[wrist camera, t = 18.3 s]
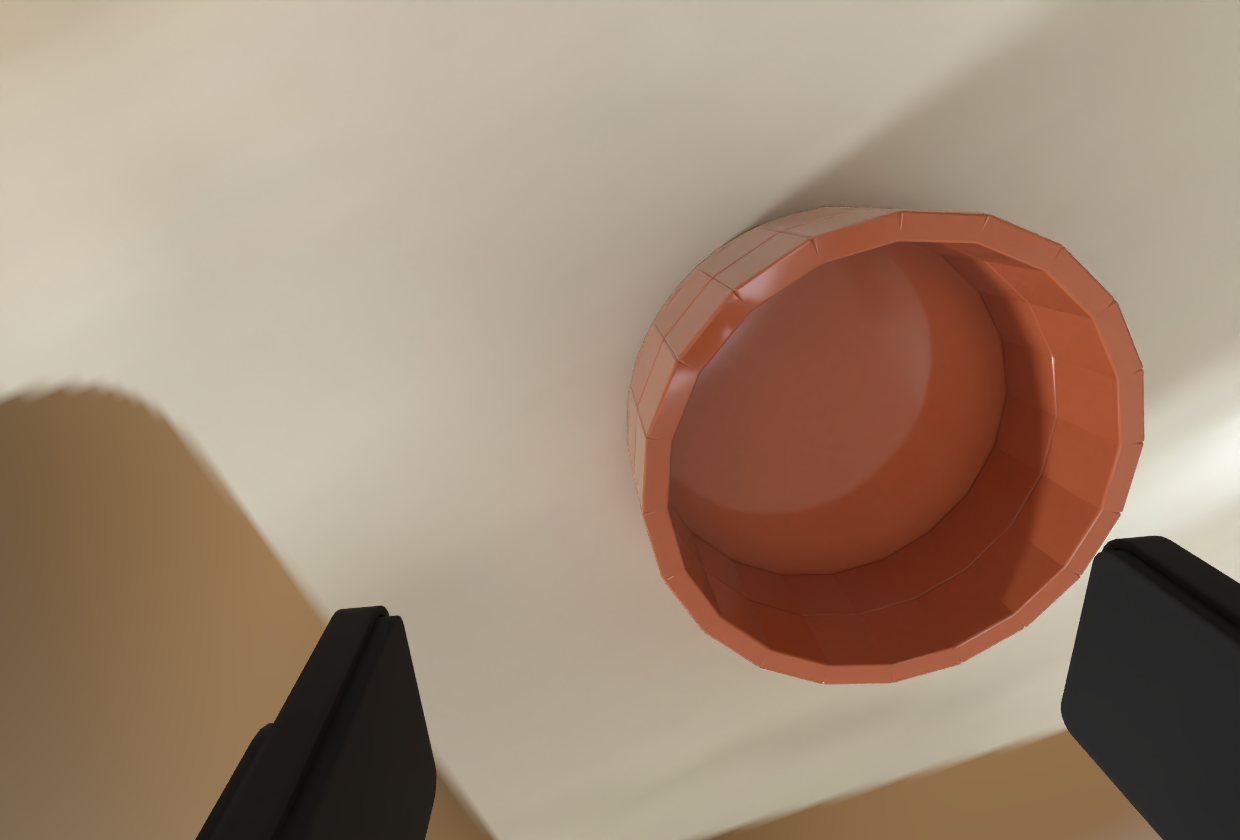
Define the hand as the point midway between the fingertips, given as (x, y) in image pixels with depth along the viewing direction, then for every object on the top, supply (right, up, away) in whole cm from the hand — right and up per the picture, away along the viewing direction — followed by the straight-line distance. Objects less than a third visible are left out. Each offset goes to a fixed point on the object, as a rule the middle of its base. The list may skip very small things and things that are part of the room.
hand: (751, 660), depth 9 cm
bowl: (+5, +3, +14) cm, 15 cm away
